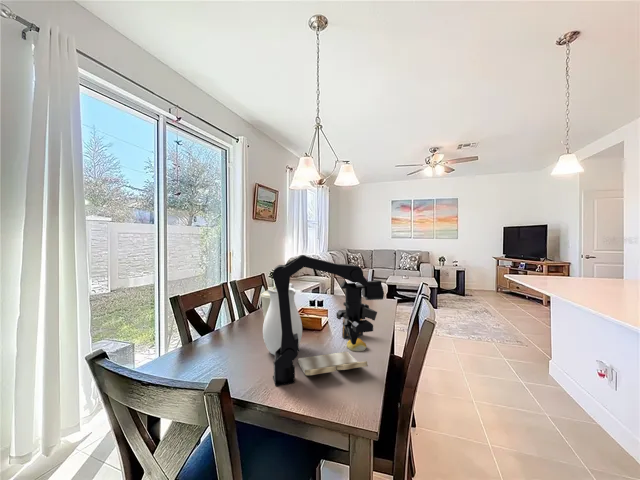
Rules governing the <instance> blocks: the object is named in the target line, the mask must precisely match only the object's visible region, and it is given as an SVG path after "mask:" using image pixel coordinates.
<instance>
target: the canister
mask: <svg viewBox="0 0 640 480" xmlns="http://www.w3.org/2000/svg"><path fill="white" fill-rule="evenodd" d="M275 289H276V286H273V287H272V289H270V290H271V291H273V290H275ZM259 297H261V299H260V300H261V304H262V306H261V307H262V313H263V320H264V319H265V316H266V314H267V311H268V308H269V305H270V294H269V293H268V291H267V290H264V291H263V292H262V293H260V295H259Z"/></svg>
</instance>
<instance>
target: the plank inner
mask: <svg viewBox="0 0 640 480" xmlns="http://www.w3.org/2000/svg"><path fill="white" fill-rule="evenodd" d="M334 372H337V369H336V367H335V366H333V367H324V368H318V369H312V370H305V374H304V375H305V376H315V375H321V374H327V373H334Z"/></svg>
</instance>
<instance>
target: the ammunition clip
mask: <svg viewBox="0 0 640 480" xmlns="http://www.w3.org/2000/svg"><path fill="white" fill-rule="evenodd" d="M342 318H343V319H342V323H344V317H342ZM360 320H363V319H360ZM341 335H342V336H341V338H342V339H343V340H346V339H350V338H349V336H348V334H347V332H346V330H345V327H344V325H343V324H342V334H341ZM362 336H364V332H363V333H359V335H358V338H359V337H362Z"/></svg>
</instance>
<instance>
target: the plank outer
mask: <svg viewBox="0 0 640 480" xmlns="http://www.w3.org/2000/svg"><path fill="white" fill-rule="evenodd" d="M362 367H363V368H364V367H368V361H367V360H365V361H358V362H356V363H350V364H343V365H337V366H336V371H345V370H352V369H357V368H362Z"/></svg>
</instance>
